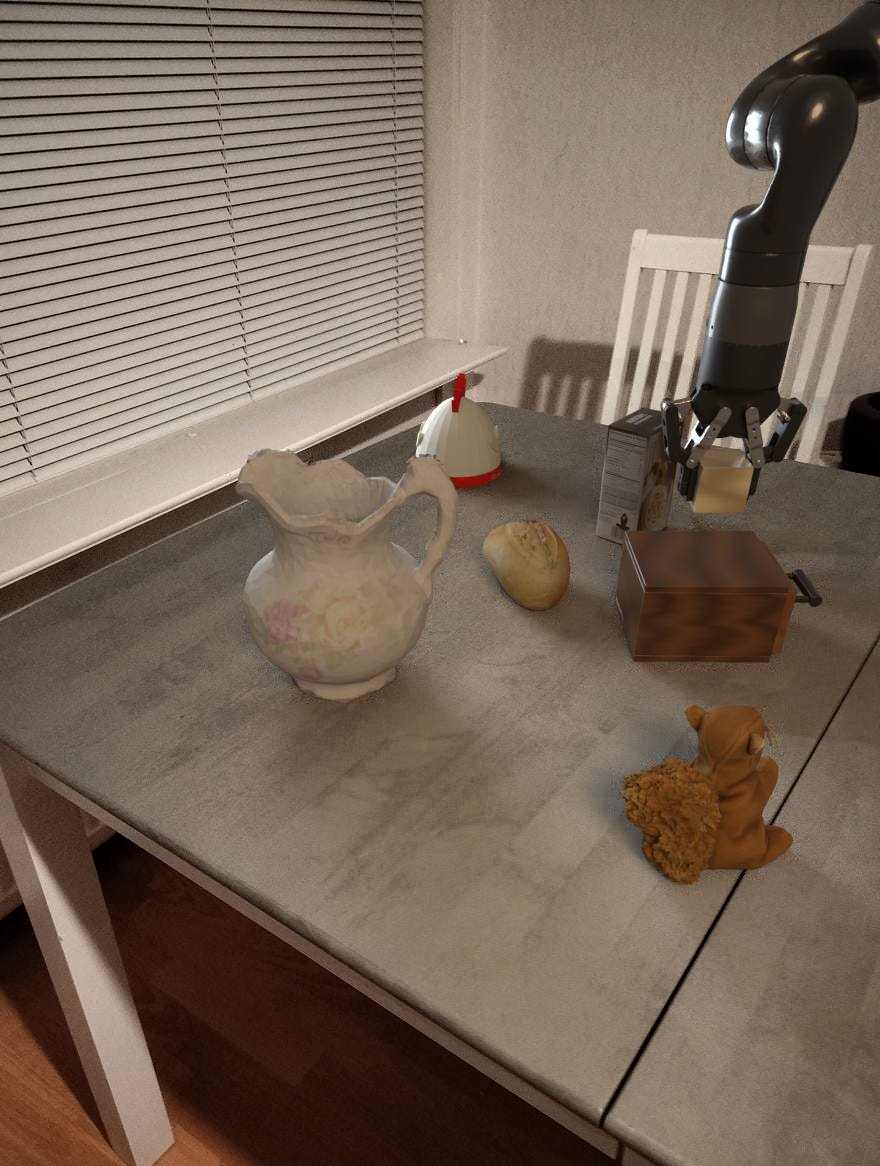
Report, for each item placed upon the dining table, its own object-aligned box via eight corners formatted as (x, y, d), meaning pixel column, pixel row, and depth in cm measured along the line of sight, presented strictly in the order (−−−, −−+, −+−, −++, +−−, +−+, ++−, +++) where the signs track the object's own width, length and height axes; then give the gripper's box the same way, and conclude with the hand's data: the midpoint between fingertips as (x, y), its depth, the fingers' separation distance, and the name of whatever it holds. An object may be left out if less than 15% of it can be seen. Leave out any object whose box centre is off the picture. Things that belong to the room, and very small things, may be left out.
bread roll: (532, 552, 114) (536, 497, 110) (587, 607, 103) (594, 549, 98) (466, 564, 112) (467, 509, 108) (514, 622, 100) (518, 563, 96)
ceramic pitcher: (434, 621, 103) (429, 416, 90) (473, 711, 86) (473, 474, 74) (253, 642, 100) (223, 433, 88) (257, 739, 83) (221, 498, 71)
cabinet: (736, 601, 103) (753, 530, 98) (769, 662, 93) (790, 586, 87) (614, 601, 104) (624, 530, 98) (633, 661, 93) (645, 585, 88)
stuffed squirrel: (798, 845, 71) (840, 723, 64) (687, 929, 65) (720, 804, 57) (700, 778, 78) (728, 661, 71) (591, 848, 71) (609, 727, 64)
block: (730, 492, 91) (740, 448, 88) (744, 513, 87) (754, 467, 84) (683, 492, 91) (691, 448, 89) (694, 513, 87) (703, 467, 85)
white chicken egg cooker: (505, 456, 142) (510, 366, 134) (494, 490, 131) (498, 394, 123) (424, 450, 145) (423, 362, 137) (406, 483, 134) (404, 389, 126)
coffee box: (627, 513, 124) (643, 405, 114) (668, 526, 120) (687, 415, 111) (593, 536, 118) (607, 423, 109) (634, 550, 114) (652, 435, 105)
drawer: (785, 598, 102) (801, 540, 97) (820, 653, 92) (839, 591, 88) (635, 597, 103) (644, 539, 98) (654, 651, 93) (665, 590, 89)
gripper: (679, 342, 77) (651, 514, 86) (842, 340, 76) (796, 514, 85) (661, 321, 83) (638, 483, 92) (812, 319, 82) (772, 483, 92)
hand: (714, 497), depth 89 cm, fingers closed on block, 5 cm apart
